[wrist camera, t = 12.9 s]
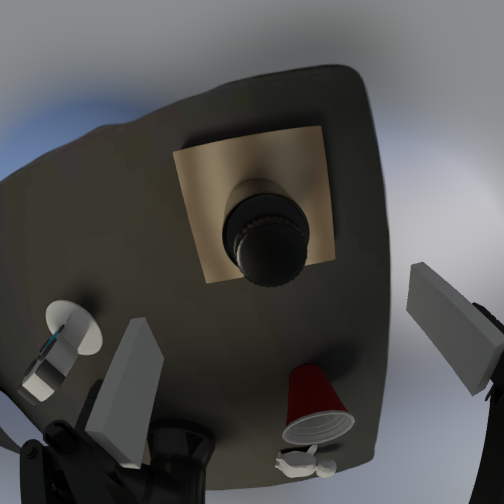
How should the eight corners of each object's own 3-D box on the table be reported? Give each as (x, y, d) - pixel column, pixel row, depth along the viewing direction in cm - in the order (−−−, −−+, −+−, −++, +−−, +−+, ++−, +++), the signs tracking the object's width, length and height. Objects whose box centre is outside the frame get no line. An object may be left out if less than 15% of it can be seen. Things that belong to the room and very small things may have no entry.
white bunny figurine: (281, 451, 63) (335, 460, 58) (271, 476, 55) (329, 486, 51) (283, 437, 59) (342, 447, 55) (273, 465, 52) (336, 475, 48)
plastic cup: (267, 394, 47) (274, 450, 36) (282, 352, 43) (294, 413, 32) (323, 394, 48) (338, 446, 37) (344, 354, 44) (367, 409, 33)
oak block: (209, 267, 36) (206, 283, 33) (180, 149, 30) (172, 152, 27) (325, 246, 36) (335, 259, 32) (311, 126, 30) (321, 125, 26)
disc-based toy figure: (66, 285, 37) (15, 347, 23) (117, 336, 41) (85, 408, 27) (38, 318, 39) (-4, 375, 25) (82, 361, 43) (53, 424, 29)
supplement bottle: (297, 231, 31) (329, 288, 20) (235, 246, 31) (235, 312, 20) (283, 168, 28) (313, 194, 17) (217, 186, 28) (204, 222, 17)
